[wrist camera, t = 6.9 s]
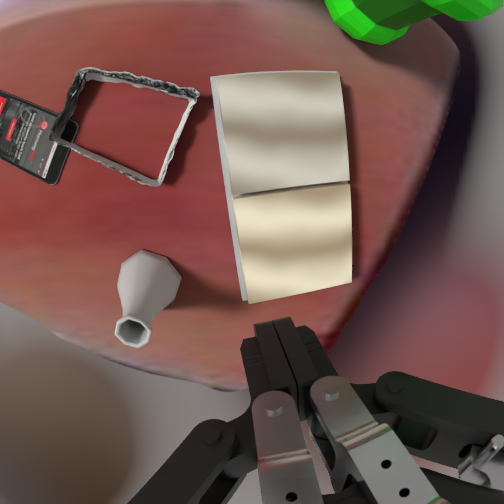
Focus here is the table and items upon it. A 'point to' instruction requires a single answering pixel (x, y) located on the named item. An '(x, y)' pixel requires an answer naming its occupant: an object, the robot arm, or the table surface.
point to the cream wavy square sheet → (294, 240)
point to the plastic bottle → (400, 15)
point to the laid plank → (283, 130)
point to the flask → (144, 295)
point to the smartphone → (32, 138)
